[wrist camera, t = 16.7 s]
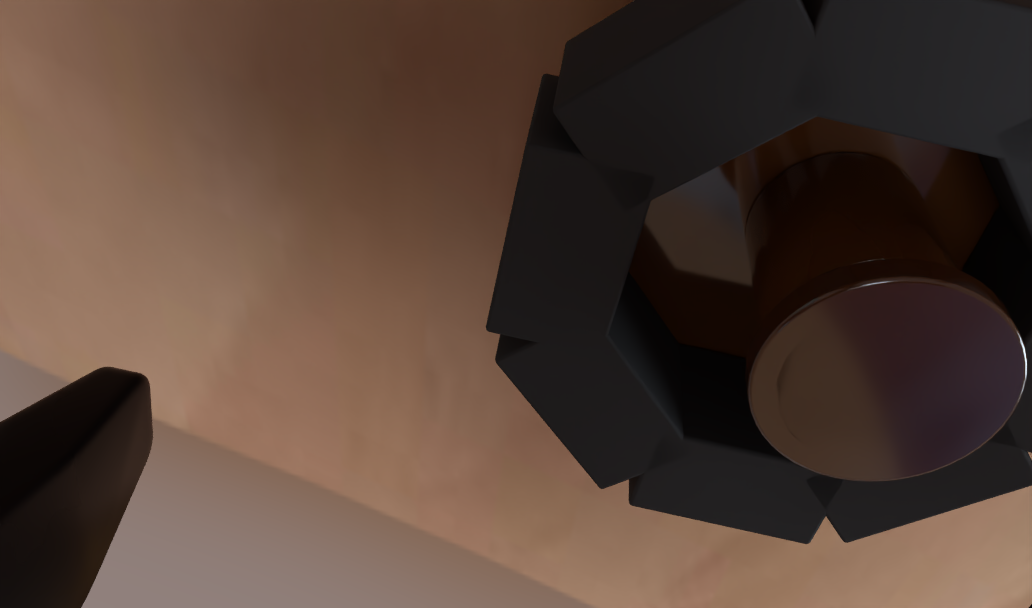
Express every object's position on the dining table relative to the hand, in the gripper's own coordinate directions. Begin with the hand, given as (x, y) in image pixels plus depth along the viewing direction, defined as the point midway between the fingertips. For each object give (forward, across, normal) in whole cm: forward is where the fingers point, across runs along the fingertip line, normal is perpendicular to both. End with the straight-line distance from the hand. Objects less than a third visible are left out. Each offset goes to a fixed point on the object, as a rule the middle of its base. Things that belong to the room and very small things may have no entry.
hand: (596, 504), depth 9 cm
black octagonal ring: (+7, -3, 0) cm, 8 cm away
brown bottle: (+13, -4, 0) cm, 13 cm away
